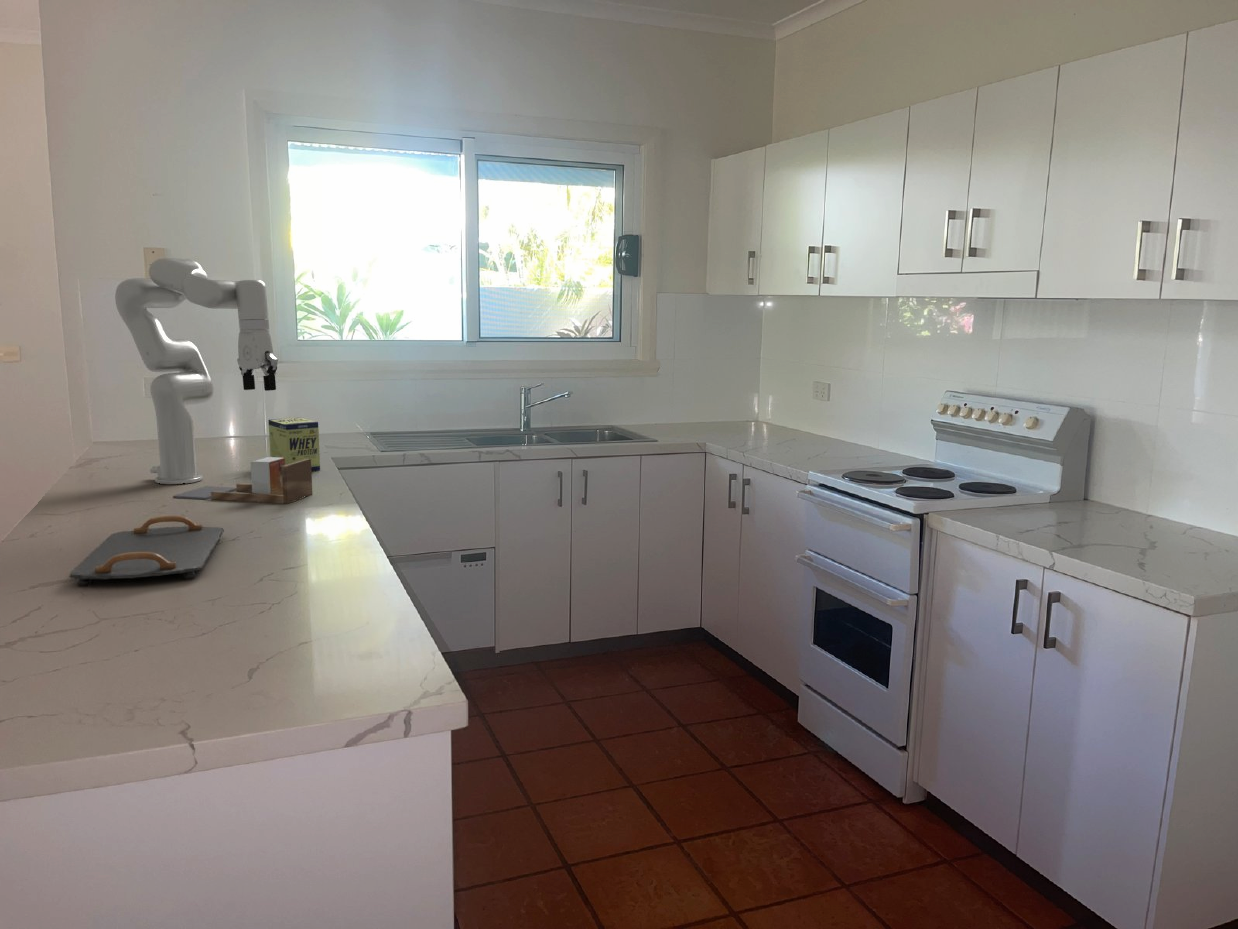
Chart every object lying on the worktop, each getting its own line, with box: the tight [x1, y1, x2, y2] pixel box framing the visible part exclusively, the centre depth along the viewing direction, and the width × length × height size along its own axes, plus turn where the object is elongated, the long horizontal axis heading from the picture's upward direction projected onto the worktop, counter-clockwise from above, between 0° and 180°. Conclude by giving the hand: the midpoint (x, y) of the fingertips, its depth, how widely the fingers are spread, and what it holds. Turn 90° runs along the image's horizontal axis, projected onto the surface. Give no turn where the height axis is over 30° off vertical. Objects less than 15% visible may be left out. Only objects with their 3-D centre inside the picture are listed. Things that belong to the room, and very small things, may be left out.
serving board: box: [68, 515, 225, 588], centre depth 186 cm, size 39×23×6 cm, turn 16°
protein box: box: [268, 417, 321, 472], centre depth 290 cm, size 10×16×16 cm
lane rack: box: [210, 459, 313, 504], centre depth 248 cm, size 23×12×10 cm, turn 78°
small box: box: [250, 456, 285, 495], centre depth 247 cm, size 8×6×10 cm
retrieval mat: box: [172, 485, 237, 501], centre depth 252 cm, size 10×14×1 cm
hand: (259, 389), depth 249 cm, fingers open, 9 cm apart
